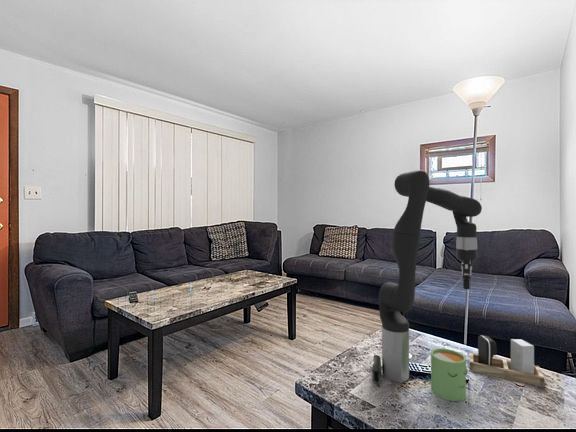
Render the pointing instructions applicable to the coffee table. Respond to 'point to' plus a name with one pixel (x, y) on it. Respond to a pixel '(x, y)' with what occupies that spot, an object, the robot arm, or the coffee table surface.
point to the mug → (448, 374)
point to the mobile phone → (377, 369)
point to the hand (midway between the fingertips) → (466, 286)
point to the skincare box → (522, 356)
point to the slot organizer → (506, 371)
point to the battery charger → (486, 350)
